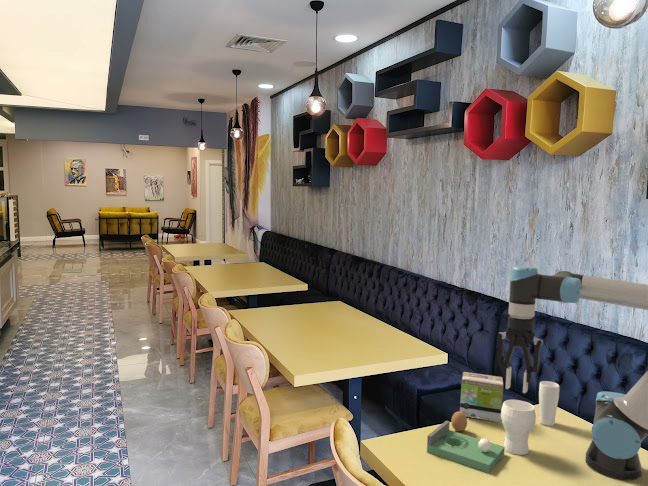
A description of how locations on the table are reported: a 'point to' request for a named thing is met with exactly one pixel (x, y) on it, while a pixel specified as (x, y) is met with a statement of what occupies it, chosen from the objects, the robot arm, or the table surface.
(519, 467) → the table surface
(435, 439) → the green
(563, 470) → the table surface
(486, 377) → the tea box
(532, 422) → the cup
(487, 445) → the ball
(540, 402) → the drinking glass
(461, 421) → the egg
